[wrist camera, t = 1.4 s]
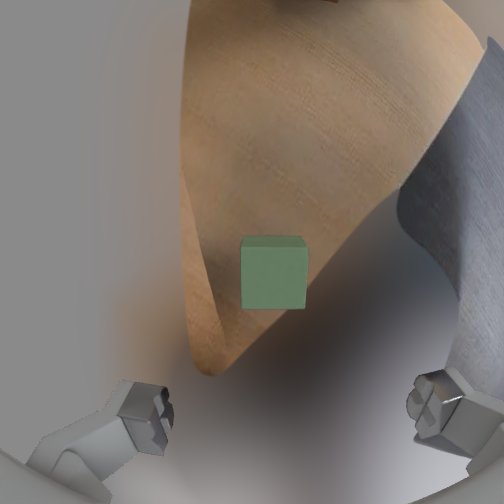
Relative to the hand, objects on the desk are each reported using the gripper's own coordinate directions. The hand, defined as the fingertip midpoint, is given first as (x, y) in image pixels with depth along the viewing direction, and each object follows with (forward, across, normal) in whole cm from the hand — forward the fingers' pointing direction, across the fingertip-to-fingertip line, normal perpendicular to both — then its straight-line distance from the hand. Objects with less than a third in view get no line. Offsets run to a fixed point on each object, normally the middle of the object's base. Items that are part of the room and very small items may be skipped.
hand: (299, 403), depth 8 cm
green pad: (+13, 0, 0) cm, 13 cm away
